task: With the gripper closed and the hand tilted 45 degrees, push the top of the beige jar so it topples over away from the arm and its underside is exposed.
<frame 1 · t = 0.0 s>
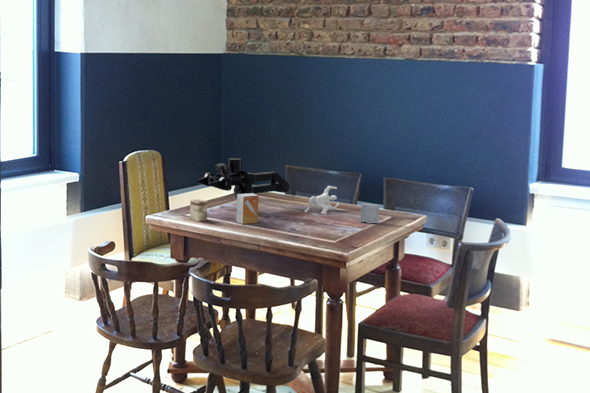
hand: (203, 182, 306), 17 cm above the table, tool horizontal, fingers open, 9 cm apart
small box: (246, 222, 304), on the table
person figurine: (322, 211, 336), on the table
medicine box: (369, 223, 313), on the table
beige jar: (198, 219, 306), on the table
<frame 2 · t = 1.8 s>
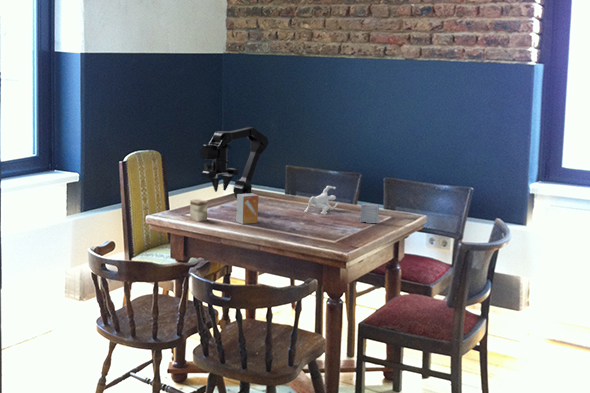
hand: (220, 191, 313), 12 cm above the table, tool pointing down, fingers open, 5 cm apart
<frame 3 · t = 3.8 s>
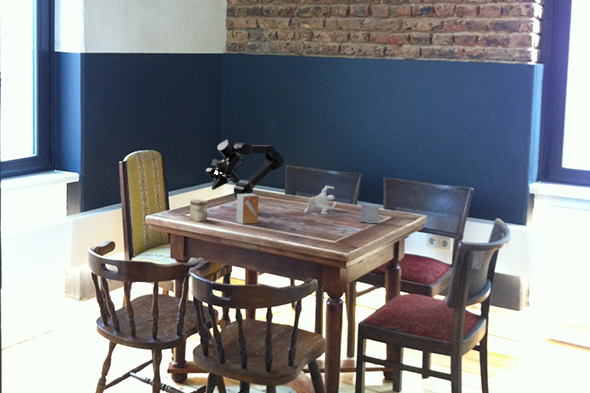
hand: (212, 189, 309), 13 cm above the table, tool tilted 45°, fingers closed
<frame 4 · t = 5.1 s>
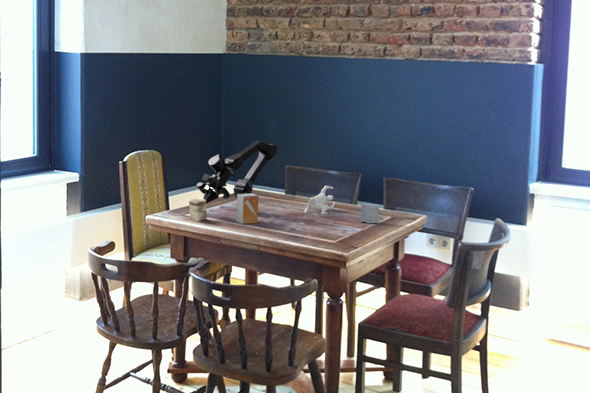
hand: (202, 204, 306), 7 cm above the table, tool tilted 45°, fingers closed, pressing on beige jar
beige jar: (198, 218, 306), on the table, tilted 5°, touching gripper
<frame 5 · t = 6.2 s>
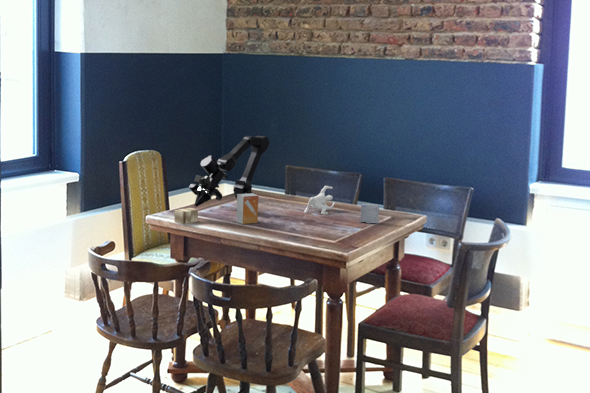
hand: (195, 206, 303), 7 cm above the table, tool tilted 45°, fingers closed
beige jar: (194, 214, 303), point 3 cm above the table, tilted 90°
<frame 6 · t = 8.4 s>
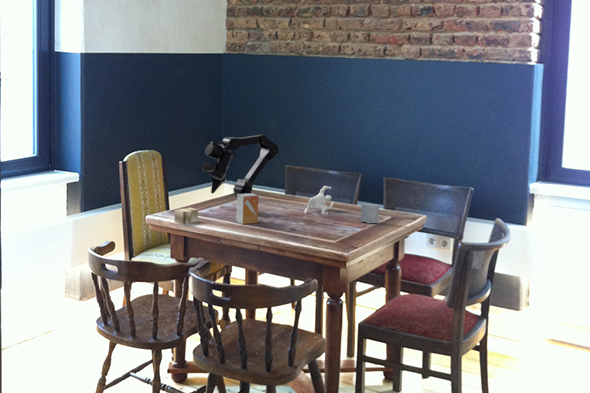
hand: (212, 193, 312), 11 cm above the table, tool tilted 25°, fingers closed
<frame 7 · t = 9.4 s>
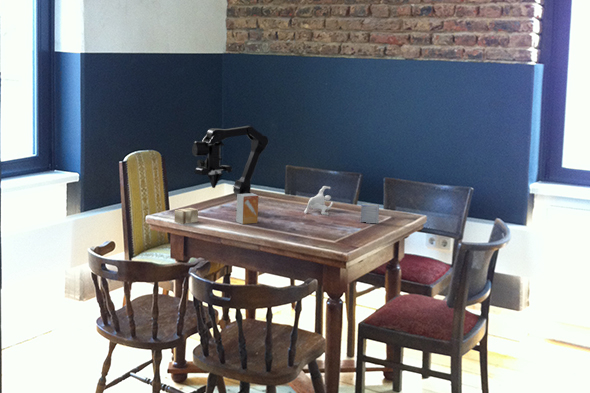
hand: (213, 187, 315), 13 cm above the table, tool pointing down, fingers closed
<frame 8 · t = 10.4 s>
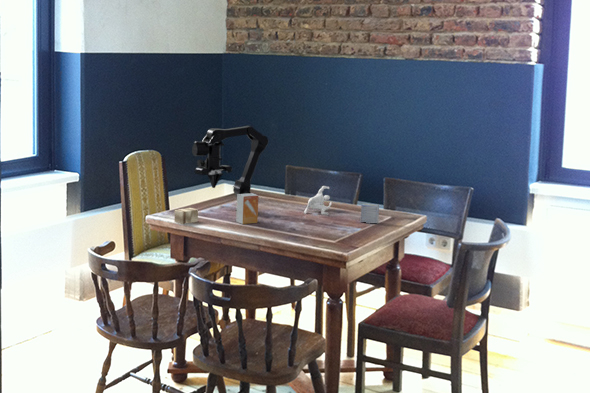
hand: (213, 187, 315), 13 cm above the table, tool pointing down, fingers closed
at the end: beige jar tilted 90°; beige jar inside the target area (4.8 cm from its centre), point 2.7 cm above the table; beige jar touching table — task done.
